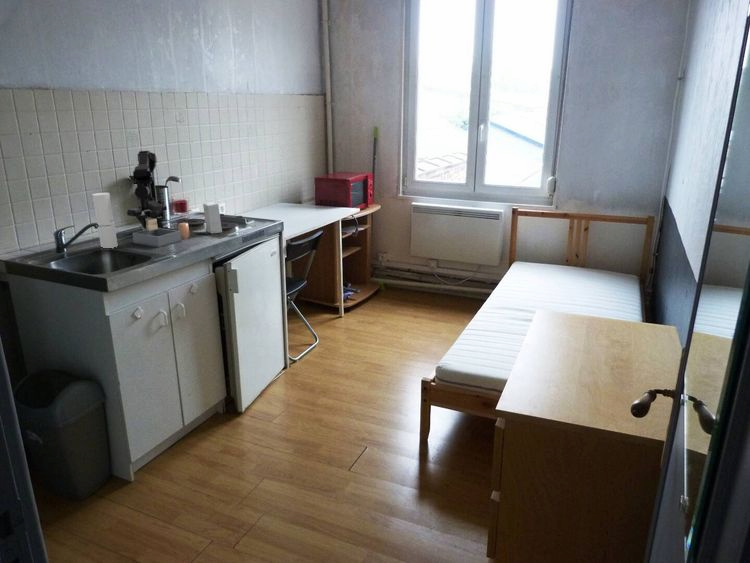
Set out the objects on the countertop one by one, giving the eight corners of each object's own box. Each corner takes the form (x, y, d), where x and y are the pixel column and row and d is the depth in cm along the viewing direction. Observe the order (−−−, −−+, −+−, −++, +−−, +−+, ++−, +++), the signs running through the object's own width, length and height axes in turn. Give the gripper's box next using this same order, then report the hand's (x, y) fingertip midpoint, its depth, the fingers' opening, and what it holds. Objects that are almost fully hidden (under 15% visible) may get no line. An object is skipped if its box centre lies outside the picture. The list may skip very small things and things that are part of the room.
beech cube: (142, 229, 273) (140, 219, 271) (150, 227, 277) (149, 217, 275) (149, 231, 270) (147, 220, 269) (157, 228, 274) (156, 218, 273)
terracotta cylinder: (177, 238, 281) (175, 224, 279) (184, 236, 285) (183, 222, 283) (184, 239, 279) (182, 225, 277) (191, 237, 283) (190, 223, 281)
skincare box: (222, 232, 291) (219, 204, 287) (210, 234, 288) (207, 205, 284) (216, 229, 298) (214, 201, 294) (205, 231, 295) (202, 202, 290)
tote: (133, 243, 272) (132, 233, 270) (156, 237, 283) (155, 227, 281) (158, 247, 263) (157, 237, 262) (181, 241, 275) (180, 231, 273)
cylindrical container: (121, 245, 268) (112, 193, 260) (109, 249, 261) (101, 195, 253) (109, 244, 270) (100, 192, 262) (97, 248, 263) (88, 194, 256)
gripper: (140, 199, 257) (144, 233, 262) (172, 193, 272) (176, 225, 277) (124, 197, 262) (129, 230, 267) (156, 191, 278) (161, 223, 282)
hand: (149, 227), depth 273 cm, fingers closed on beech cube, 5 cm apart
